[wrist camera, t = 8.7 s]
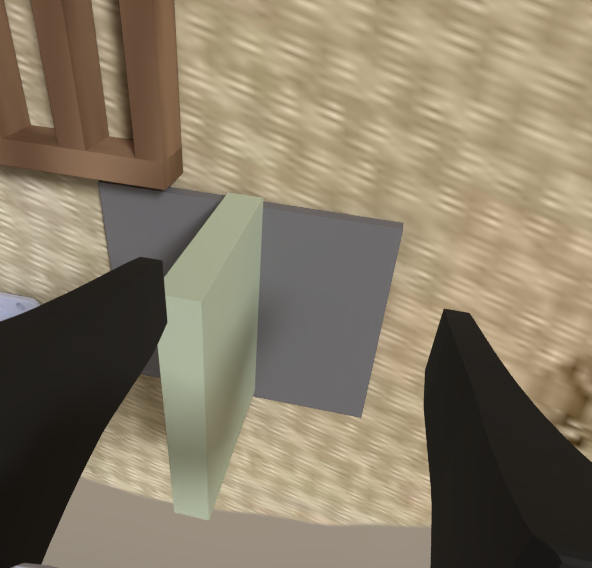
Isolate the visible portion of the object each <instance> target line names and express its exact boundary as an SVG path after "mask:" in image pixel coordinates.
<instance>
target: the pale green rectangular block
mask: <svg viewBox="0 0 592 568" xmlns="http://www.w3.org/2000/svg"><path fill="white" fill-rule="evenodd" d="M262 217H263V198H261V197H255V196H248V195H242V194H235V193H229V192H228V193H227V195H226V196H225V197H224V199H223V200H222V201H221V203H220V204H219V205H218V207H217V208H216V209H215V211H214V212H213V213H212V215H211V216H210V217H209V219H208V220H207V221H206V223H205V224H204V225H203V227H202V228H201V229H200V231H199V232H198V233H197V235H196V236H195V237H194V239H193V240H192V241H191V242H190V244H189V245H188V246H187V248H186V249H185V250H184V252H183V253H182V254H181V256H180V257H179V258H178V260H177V261H176V262H175V264H174V265H173V266H172V268H171V269H170V270H169V272H168V273H167V274H166V276H165V277H164V285H165V297H166V309H167V321H168V323H167V325H166V327H165V329H164V332H163V334H162V336H161V339H160V341H159V343H158V354H159V364H160V374H161V384H162V394H163V404H164V414H165V424H166V434H167V444H168V454H169V464H170V473H171V483H172V493H173V503H174V512H175V513H179V514H184V515H188V516H192V517H197V518H201V519H205V520H209V519H210V516H211V513H212V510H213V507H214V505H215V502H216V499H217V496H218V493H219V490H220V488H221V485H222V482H223V479H224V476H225V473H226V471H227V468H228V465H229V462H230V459H231V456H232V454H233V451H234V448H235V445H236V442H237V440H238V437H239V434H240V431H241V428H242V425H243V423H244V420H245V417H246V414H247V411H248V408H249V406H250V403H251V400H252V397H253V394H254V391H255V373H256V351H257V329H258V307H259V284H260V262H261V240H262Z"/></svg>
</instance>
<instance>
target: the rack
mask: <svg viewBox="0 0 592 568" xmlns="http://www.w3.org/2000/svg"><path fill="white" fill-rule="evenodd" d="M31 5H32V11H33V16H34V21H35V26H36V31H37V37H38V42H39V47H40V52H41V58H42V63H43V68H44V73H45V79H46V84H47V89H48V94H49V100H50V105H51V110H52V115H53V121H54V126H55V129H53V128H46V127H39V126H32V125H31V124H30V120H29V115H28V111H27V106H26V101H25V97H24V92H23V88H22V83H21V78H20V74H19V69H18V65H17V60H16V55H15V51H14V46H13V41H12V37H11V32H10V28H9V23H8V18H7V14H6V9H5V5H4V0H0V165H6V166H13V167H19V168H26V169H32V170H39V171H45V172H52V173H58V174H65V175H71V176H77V177H84V178H90V179H97V180H103V181H110V182H116V183H123V184H129V185H136V186H142V187H148V188H155V189H161V190H166V189H167V188H168V187H169V186H170V185H171V184H172V183H173V182H174V181H175V180H176V179H177V178H178V177H179V176H180V175H181V174H182V173H183V165H182V145H181V125H180V106H179V86H178V66H177V47H176V27H175V7H174V0H119V5H120V15H121V25H122V34H123V44H124V53H125V63H126V72H127V82H128V91H129V101H130V111H131V120H132V130H133V139H134V140H129V139H122V138H115V137H109V133H108V125H107V118H106V110H105V102H104V95H103V87H102V80H101V72H100V64H99V57H98V49H97V42H96V34H95V27H94V19H93V11H92V4H91V0H31Z"/></svg>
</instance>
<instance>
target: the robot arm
mask: <svg viewBox="0 0 592 568" xmlns="http://www.w3.org/2000/svg"><path fill="white" fill-rule="evenodd" d="M22 304H23V305H22ZM167 323H168V321H167V309H166V297H165V285H164V273H163V261H162V260H157V259H151V258H145V257H138V258H136V259H134V260H132V261H129V262H127V263H125V264H123V265H121V266H119V267H117V268H116V269H114V270H112V271H110V272H108V273H106V274H104V275H102V276H100V277H98V278H96V279H94V280H92V281H90V282H89V283H87V284H85V285H83V286H81V287H79V288H77V289H75V290H73V291H71V292H68V293H66V294H64V295H62V296H60V297H58V298H56V299H53V300H51V301H49V302H47V303H45V304H43V305H40V304H39V302H38V301H37V300H35V299H33V298H30V297H24V296H19V295H14V294H8V293H3V292H0V568H57V567H53V566H48V565H41V563H42V561H43V558H44V556H45V554H46V551H47V549H48V547H49V544H50V542H51V540H52V537H53V535H54V533H55V531H56V528H57V526H58V524H59V522H60V519H61V517H62V515H63V512H64V510H65V508H66V506H67V503H68V501H69V499H70V497H71V495H72V493H73V491H74V489H75V487H76V484H77V482H78V480H79V478H80V476H81V474H82V472H83V470H84V468H85V466H86V464H87V462H88V460H89V458H90V456H91V454H92V452H93V450H94V448H95V446H96V444H97V442H98V440H99V438H100V436H101V435H102V433H103V431H104V430H105V428H106V426H107V424H108V423H109V421H110V419H111V418H112V416H113V415H114V413H115V412H116V410H117V409H118V407H119V406H120V404H121V403H122V401H123V400H124V398H125V397H126V395H127V394H128V392H129V391H130V389H131V387H132V386H133V384H134V383H135V381H136V380H137V378H138V377H139V375H140V374H141V372H142V371H143V369H144V368H145V366H146V364H147V363H148V361H149V360H150V358H151V356H152V355H153V353H154V351H155V349H156V347H157V345H158V343H159V341H160V339H161V336H162V334H163V332H164V329H165V327H166V325H167ZM424 417H425V428H426V440H427V450H428V461H429V472H430V483H431V500H432V525H431V568H592V462H591V461H590V460H589V459H587V458H586V457H585V456H584V455H583V454H582V453H581V452H580V451H579V450H578V449H576V448H575V447H574V446H573V445H572V444H571V443H570V442H569V441H568V440H567V439H566V438H565V437H564V436H563V435H562V434H561V433H560V432H559V431H558V430H557V429H556V427H555V426H554V425H553V424H552V423H551V422H550V421H549V420H548V419H547V418H546V417H545V416H544V415H543V414H542V413H541V411H540V410H539V409H538V408H537V407H536V406H535V405H534V403H533V402H532V401H531V400H530V399H529V397H528V396H527V395H526V394H525V392H524V391H523V390H522V389H521V387H520V386H519V385H518V384H517V382H516V381H515V380H514V378H513V377H512V376H511V374H510V373H509V372H508V370H507V369H506V367H505V366H504V365H503V363H502V362H501V360H500V359H499V357H498V356H497V354H496V353H495V352H494V350H493V348H492V347H491V345H490V344H489V342H488V341H487V339H486V338H485V336H484V335H483V333H482V332H481V330H480V328H479V327H478V325H477V324H476V322H475V321H474V319H473V318H472V316H471V315H470V313H466V312H461V311H455V310H449V309H444V310H443V313H442V316H441V320H440V323H439V326H438V330H437V333H436V336H435V339H434V343H433V346H432V349H431V353H430V356H429V359H428V363H427V366H426V369H425V384H424Z"/></svg>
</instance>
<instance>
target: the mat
mask: <svg viewBox="0 0 592 568" xmlns="http://www.w3.org/2000/svg"><path fill="white" fill-rule="evenodd" d="M98 185H99V191H100V198H101V204H102V211H103V217H104V224H105V231H106V237H107V244H108V250H109V257H110V264H111V270H114V269H116V268H117V267H119V266H121V265H123V264H125V263H127V262H129V261H132V260H134V259H136V258H138V257H145V258H151V259H157V260H162V261H163V273H164V277H165V276H166V274H167V273H168V272H169V270H170V269H171V268H172V266H173V265H174V264H175V262H176V261H177V260H178V258H179V257H180V256H181V254H182V253H183V252H184V250H185V249H186V248H187V246H188V245H189V244H190V242H191V241H192V240H193V239H194V237H195V236H196V235H197V233H198V232H199V231H200V229H201V228H202V227H203V225H204V224H205V223H206V221H207V220H208V219H209V217H210V216H211V215H212V213H213V212H214V211H215V209H216V208H217V207H218V205H219V204H220V203H221V201H222V200H223V199H224V197H225V196H224V195H217V194H211V193H204V192H198V191H191V190H185V189H178V188H172V187H168V188H167V189H166V190H161V189H155V188H148V187H142V186H136V185H129V184H123V183H116V182H110V181H103V180H100V181H99V182H98ZM402 232H403V223H399V222H393V221H386V220H380V219H373V218H367V217H360V216H354V215H347V214H341V213H334V212H328V211H321V210H315V209H308V208H302V207H295V206H289V205H282V204H276V203H269V202H263V217H262V240H261V262H260V284H259V307H258V329H257V351H256V373H255V391H254V394H253V396H254V397H259V398H264V399H269V400H274V401H279V402H284V403H289V404H294V405H299V406H304V407H309V408H314V409H319V410H324V411H329V412H334V413H339V414H345V415H350V416H355V417H360V418H361V416H362V412H363V407H364V403H365V398H366V394H367V389H368V385H369V380H370V376H371V371H372V367H373V362H374V358H375V353H376V349H377V344H378V340H379V335H380V331H381V326H382V322H383V317H384V313H385V308H386V304H387V299H388V295H389V290H390V286H391V281H392V277H393V272H394V268H395V263H396V259H397V254H398V250H399V245H400V241H401V236H402ZM141 374H143V375H148V376H153V377H158V378H161V374H160V364H159V354H158V345H157V347H156V349H155V351H154V353H153V355H152V356H151V358H150V360H149V361H148V363H147V364H146V366H145V368H144V369H143V371H142V372H141Z"/></svg>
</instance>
